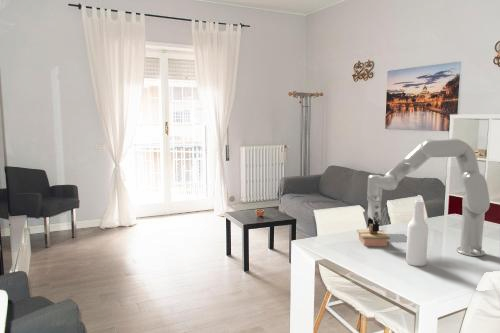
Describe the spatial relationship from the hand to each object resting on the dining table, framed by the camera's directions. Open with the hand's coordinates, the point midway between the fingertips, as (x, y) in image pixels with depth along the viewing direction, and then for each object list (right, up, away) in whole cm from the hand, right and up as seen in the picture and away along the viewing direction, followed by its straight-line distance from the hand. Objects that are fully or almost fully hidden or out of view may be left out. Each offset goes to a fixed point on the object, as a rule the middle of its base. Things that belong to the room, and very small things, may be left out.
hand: (373, 228), depth 216 cm
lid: (0, -4, 0) cm, 4 cm away
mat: (+15, -7, +9) cm, 19 cm away
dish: (0, -8, +1) cm, 8 cm away
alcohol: (+11, -12, -29) cm, 33 cm away
